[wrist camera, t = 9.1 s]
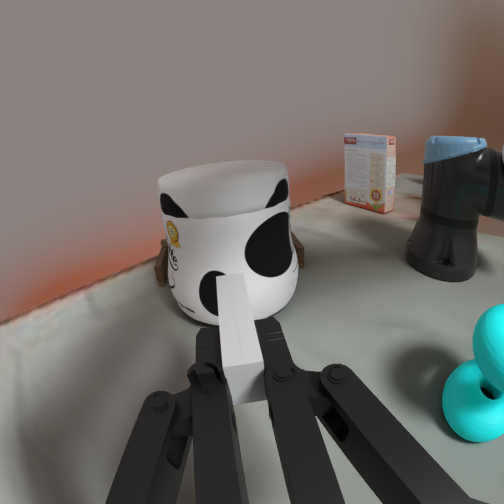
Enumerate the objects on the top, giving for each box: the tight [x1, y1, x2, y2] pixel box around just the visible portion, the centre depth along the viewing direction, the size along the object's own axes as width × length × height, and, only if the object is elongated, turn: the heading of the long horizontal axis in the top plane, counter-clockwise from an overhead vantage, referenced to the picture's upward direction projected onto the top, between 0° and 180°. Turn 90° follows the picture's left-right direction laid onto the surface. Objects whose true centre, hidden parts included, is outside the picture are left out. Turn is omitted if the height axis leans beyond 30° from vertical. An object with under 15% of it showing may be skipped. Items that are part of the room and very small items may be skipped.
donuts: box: [442, 304, 504, 442], centre depth 14 cm, size 10×10×10 cm
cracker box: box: [344, 133, 396, 214], centre depth 68 cm, size 14×6×21 cm, turn 35°
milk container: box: [158, 160, 298, 326], centre depth 35 cm, size 17×17×18 cm
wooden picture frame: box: [154, 225, 304, 286], centre depth 47 cm, size 24×9×4 cm, turn 98°
